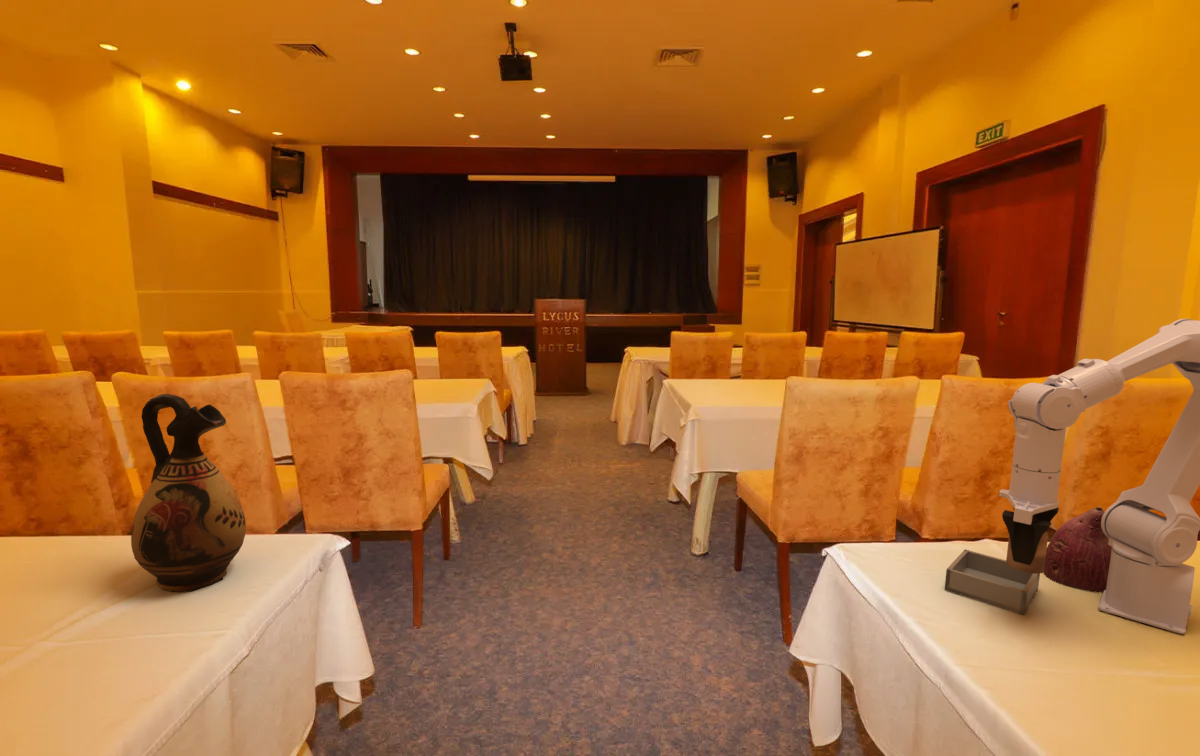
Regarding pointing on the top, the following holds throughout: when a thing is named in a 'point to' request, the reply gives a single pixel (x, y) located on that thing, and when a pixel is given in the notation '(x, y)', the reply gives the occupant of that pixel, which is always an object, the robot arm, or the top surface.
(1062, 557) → the vegetable
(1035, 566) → the walnut cylinder
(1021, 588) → the grey bin
